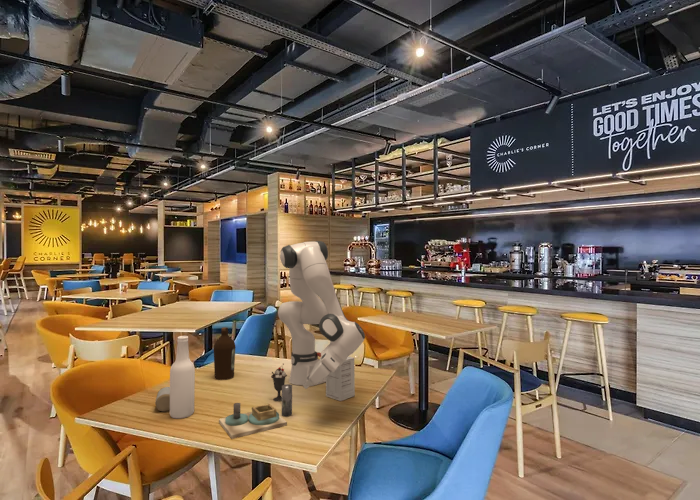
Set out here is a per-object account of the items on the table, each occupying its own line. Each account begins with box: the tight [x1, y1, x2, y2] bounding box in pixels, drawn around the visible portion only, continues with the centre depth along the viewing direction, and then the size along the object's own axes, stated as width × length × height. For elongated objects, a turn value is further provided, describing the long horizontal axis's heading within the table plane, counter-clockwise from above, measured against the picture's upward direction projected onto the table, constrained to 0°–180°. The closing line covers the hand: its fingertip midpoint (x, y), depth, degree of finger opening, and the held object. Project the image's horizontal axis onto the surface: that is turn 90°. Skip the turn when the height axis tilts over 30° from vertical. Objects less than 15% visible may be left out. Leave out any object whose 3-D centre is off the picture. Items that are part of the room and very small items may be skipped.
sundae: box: [271, 363, 288, 402], centre depth 169 cm, size 7×7×15 cm
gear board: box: [218, 402, 288, 440], centre depth 144 cm, size 20×16×7 cm
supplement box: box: [325, 356, 356, 402], centre depth 173 cm, size 10×9×17 cm
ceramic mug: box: [154, 386, 170, 413], centre depth 159 cm, size 11×8×8 cm
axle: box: [281, 383, 293, 418], centre depth 152 cm, size 4×4×11 cm
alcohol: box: [169, 335, 196, 420], centre depth 153 cm, size 9×9×30 cm
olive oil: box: [213, 326, 236, 381], centre depth 200 cm, size 11×11×25 cm
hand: (306, 383), depth 152 cm, fingers open, 8 cm apart
